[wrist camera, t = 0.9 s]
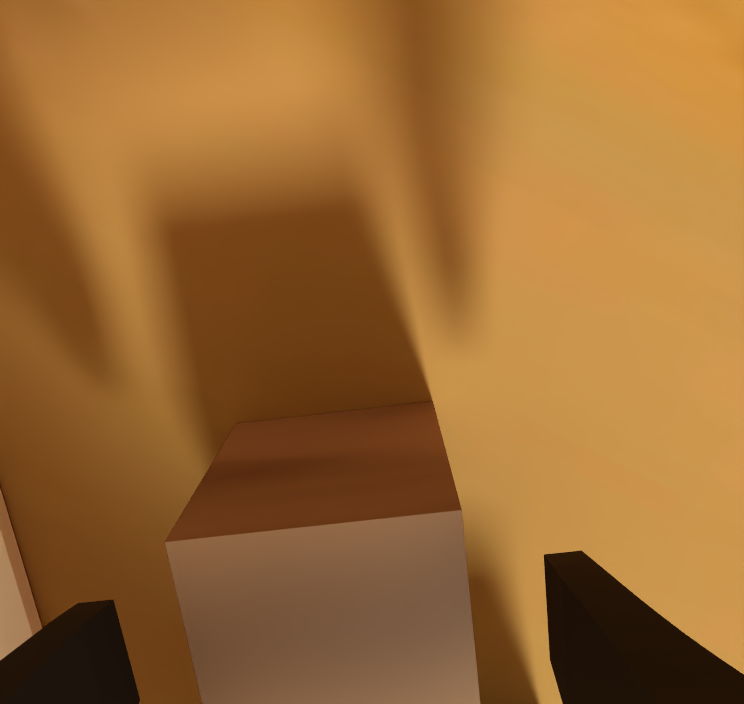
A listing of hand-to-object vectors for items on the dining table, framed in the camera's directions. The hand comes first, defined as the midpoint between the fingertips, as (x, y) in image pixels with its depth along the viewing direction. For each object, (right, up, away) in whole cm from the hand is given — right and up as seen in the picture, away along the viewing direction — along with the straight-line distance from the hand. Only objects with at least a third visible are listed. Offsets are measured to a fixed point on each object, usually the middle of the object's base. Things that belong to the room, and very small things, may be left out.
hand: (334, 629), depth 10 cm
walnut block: (0, +1, +4) cm, 5 cm away
